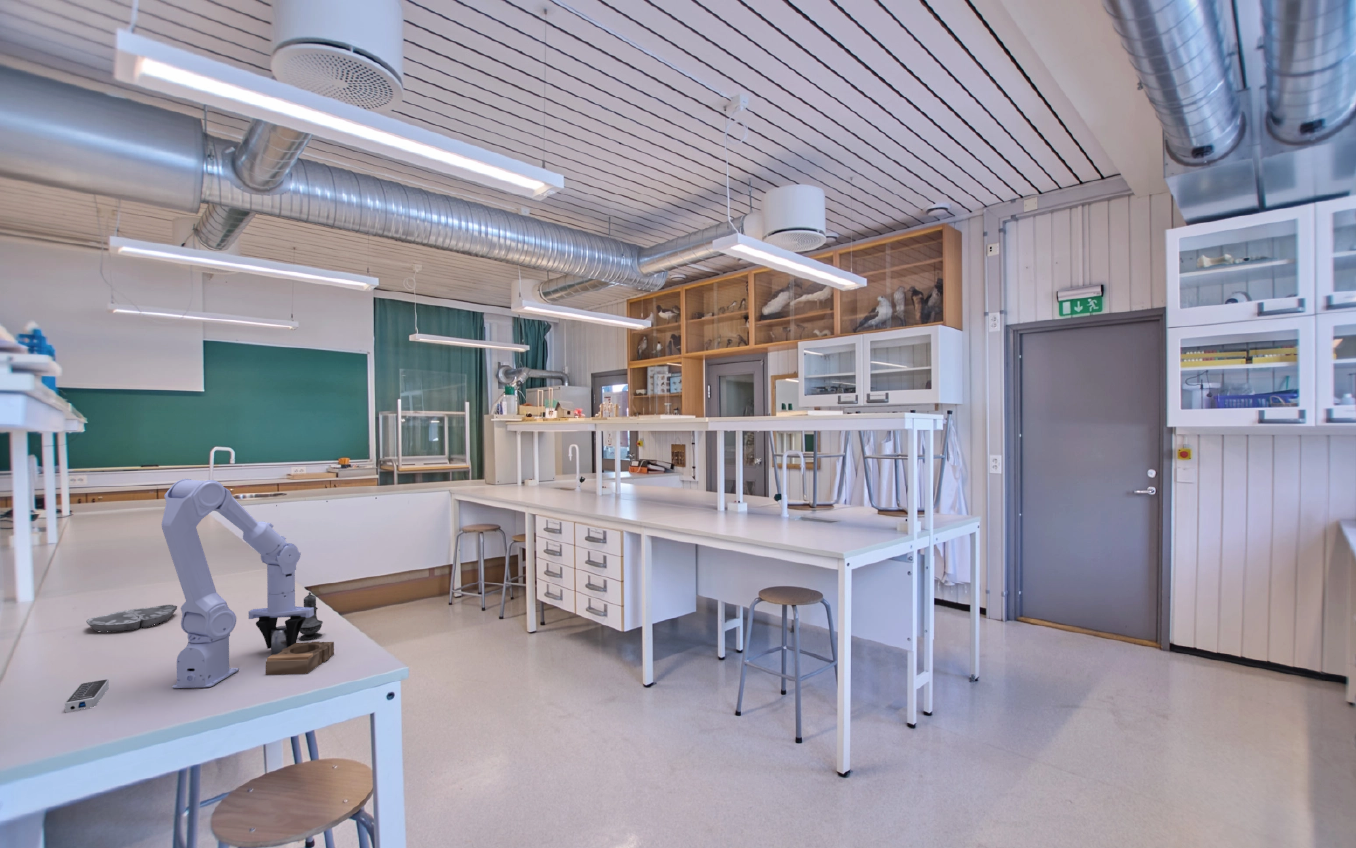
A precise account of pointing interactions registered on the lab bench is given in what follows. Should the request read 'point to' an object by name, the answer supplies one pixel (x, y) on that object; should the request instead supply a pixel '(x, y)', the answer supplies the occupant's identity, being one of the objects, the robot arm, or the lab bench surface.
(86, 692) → the multiport hub
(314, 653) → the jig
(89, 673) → the lab bench surface
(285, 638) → the bushing
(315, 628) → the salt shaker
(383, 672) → the lab bench surface
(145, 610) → the brain slice
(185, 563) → the robot arm
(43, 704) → the lab bench surface
